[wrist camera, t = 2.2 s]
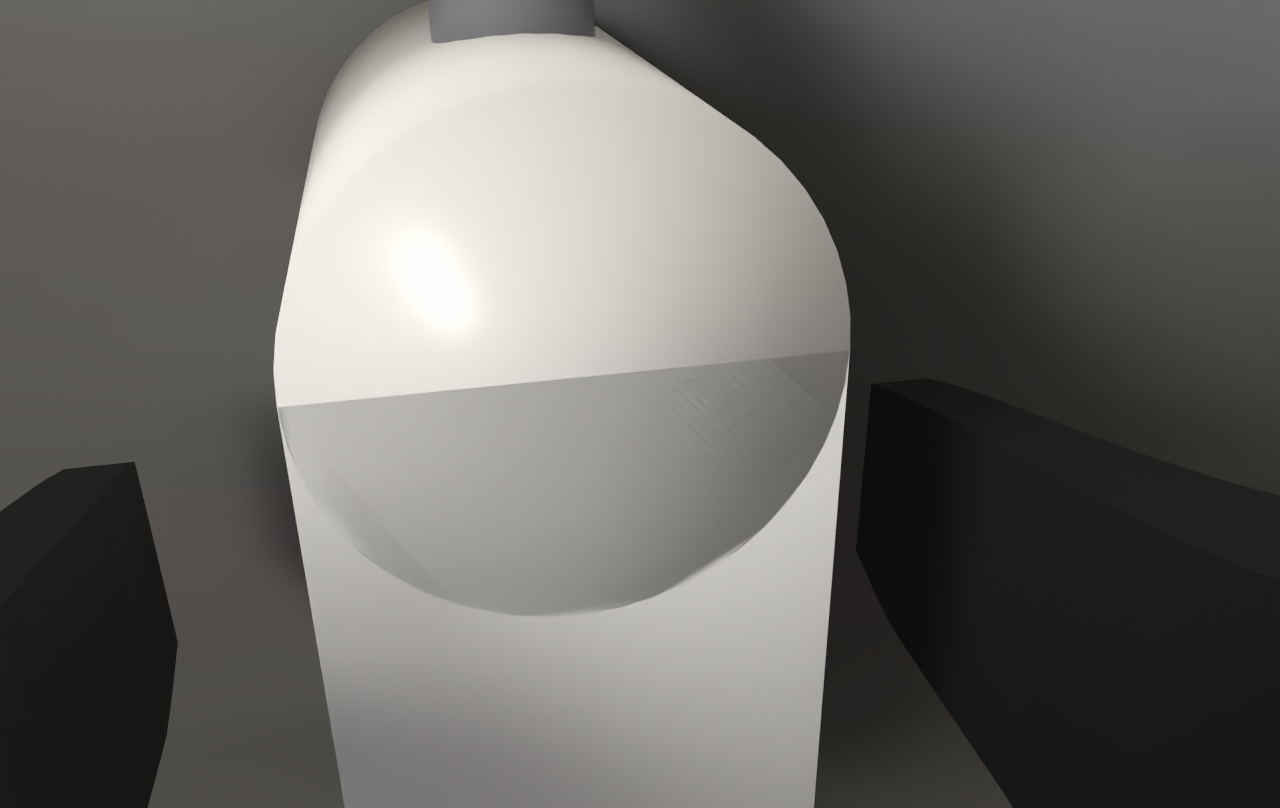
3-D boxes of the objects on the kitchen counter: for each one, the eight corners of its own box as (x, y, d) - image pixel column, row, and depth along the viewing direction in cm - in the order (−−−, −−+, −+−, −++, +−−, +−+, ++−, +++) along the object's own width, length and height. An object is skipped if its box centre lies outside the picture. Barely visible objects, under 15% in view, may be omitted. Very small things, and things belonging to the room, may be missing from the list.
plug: (260, -187, 9) (167, -234, 5) (664, -187, 10) (895, -229, 6) (417, 922, 15) (436, 1348, 11) (665, 875, 16) (777, 1260, 12)
